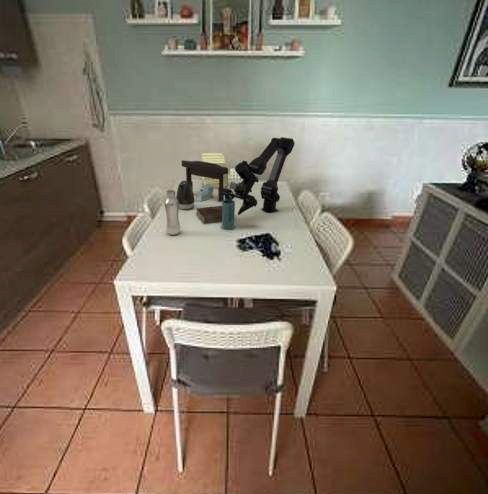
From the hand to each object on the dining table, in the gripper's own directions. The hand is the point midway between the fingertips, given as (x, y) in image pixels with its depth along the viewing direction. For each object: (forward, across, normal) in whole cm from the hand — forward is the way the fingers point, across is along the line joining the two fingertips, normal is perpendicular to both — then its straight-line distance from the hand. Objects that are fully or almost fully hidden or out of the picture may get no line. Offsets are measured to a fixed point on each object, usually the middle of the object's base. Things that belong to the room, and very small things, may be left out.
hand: (231, 212), depth 155 cm
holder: (+4, -14, +7) cm, 16 cm away
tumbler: (+7, 0, +4) cm, 8 cm away
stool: (-9, -40, +20) cm, 46 cm away
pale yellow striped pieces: (-27, -56, +38) cm, 73 cm away
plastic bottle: (+23, -13, -12) cm, 29 cm away
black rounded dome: (+5, -35, +6) cm, 36 cm away
